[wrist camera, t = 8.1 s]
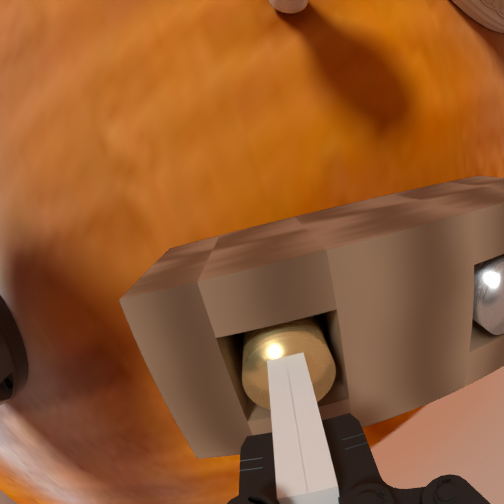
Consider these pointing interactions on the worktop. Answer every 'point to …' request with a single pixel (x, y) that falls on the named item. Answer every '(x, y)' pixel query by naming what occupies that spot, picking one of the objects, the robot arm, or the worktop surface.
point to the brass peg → (281, 345)
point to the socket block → (326, 307)
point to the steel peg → (489, 294)
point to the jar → (484, 12)
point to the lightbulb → (289, 5)
